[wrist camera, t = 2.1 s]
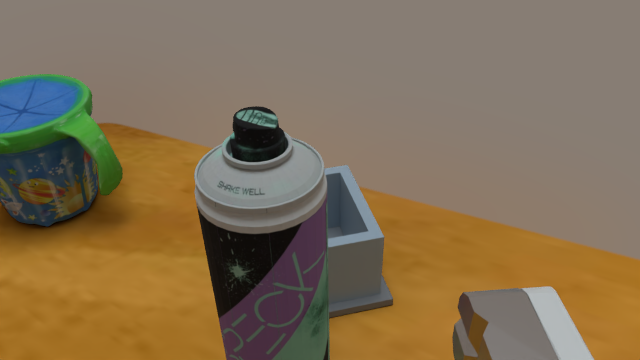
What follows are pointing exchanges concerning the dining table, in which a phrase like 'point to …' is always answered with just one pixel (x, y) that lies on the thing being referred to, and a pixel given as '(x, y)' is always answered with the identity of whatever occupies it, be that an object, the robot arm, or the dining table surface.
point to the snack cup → (51, 149)
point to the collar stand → (353, 248)
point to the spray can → (266, 240)
